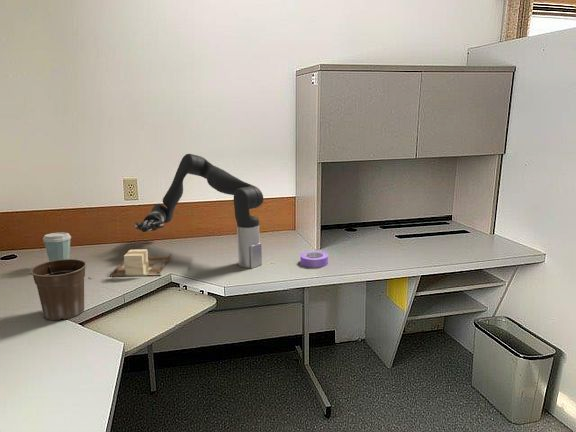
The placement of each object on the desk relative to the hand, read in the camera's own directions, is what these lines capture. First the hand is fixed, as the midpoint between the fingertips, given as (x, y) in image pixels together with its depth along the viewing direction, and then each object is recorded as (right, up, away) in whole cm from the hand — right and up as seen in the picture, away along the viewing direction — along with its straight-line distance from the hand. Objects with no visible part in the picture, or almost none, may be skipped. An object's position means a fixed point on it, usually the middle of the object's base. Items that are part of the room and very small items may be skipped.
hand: (144, 229), depth 196 cm
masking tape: (+72, -15, +1) cm, 74 cm away
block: (0, -17, -9) cm, 19 cm away
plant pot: (-12, -26, -44) cm, 52 cm away
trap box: (0, -16, -1) cm, 16 cm away
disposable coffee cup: (-35, -16, 0) cm, 39 cm away
